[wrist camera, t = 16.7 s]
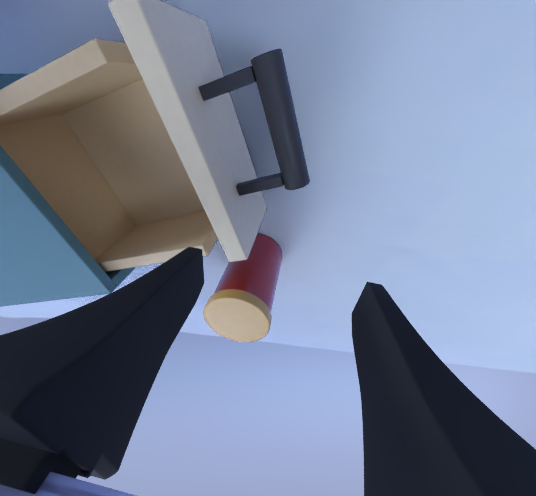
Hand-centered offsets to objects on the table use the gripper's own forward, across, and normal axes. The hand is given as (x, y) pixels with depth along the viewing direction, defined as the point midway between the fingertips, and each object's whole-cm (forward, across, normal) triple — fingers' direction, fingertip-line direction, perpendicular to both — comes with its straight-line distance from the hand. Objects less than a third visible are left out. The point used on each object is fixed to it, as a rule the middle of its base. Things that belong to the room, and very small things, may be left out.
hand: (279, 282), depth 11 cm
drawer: (+10, +8, -2) cm, 13 cm away
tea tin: (+10, +2, +7) cm, 13 cm away
